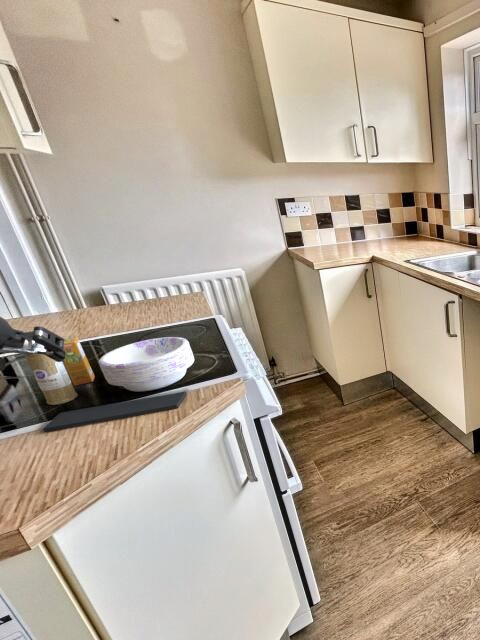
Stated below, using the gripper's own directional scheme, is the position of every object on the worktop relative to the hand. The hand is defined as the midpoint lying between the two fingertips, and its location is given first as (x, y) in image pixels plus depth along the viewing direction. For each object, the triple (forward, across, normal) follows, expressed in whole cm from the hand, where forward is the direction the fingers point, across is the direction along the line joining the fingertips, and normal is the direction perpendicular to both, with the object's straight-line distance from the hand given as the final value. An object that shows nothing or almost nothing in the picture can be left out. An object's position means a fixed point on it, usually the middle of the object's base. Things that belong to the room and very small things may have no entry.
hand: (32, 361), depth 80 cm
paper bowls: (+11, -15, +4) cm, 19 cm away
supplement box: (+16, 0, -1) cm, 16 cm away
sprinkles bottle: (+9, 0, +5) cm, 11 cm away
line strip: (+2, -13, +13) cm, 18 cm away
